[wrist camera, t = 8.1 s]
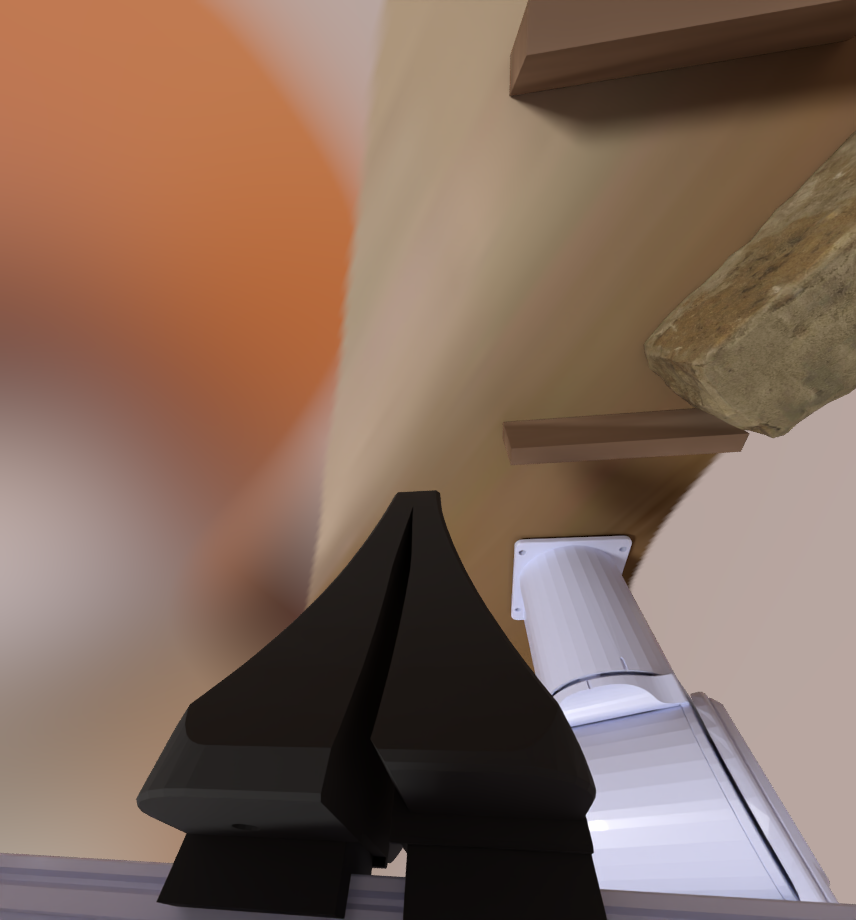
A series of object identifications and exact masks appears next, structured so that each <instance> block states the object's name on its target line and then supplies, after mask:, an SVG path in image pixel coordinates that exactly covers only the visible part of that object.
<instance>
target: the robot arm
mask: <svg viewBox="0 0 856 920" xmlns="http://www.w3.org/2000/svg"><path fill="white" fill-rule="evenodd" d="M631 545H632V541H631V539H630V538H629V537H628V536H600V537H574V538H548V539H522V540H518V541H517V542H516V543H515V550H514V569H513V587H512V606H511V615H512V618H513V619H515V620H524V621H525V626H526V631H527V636H528V640H529V645H530V650H531V655H532V660H533V664H534V669H535V674H536V675H535V674H534V672H533V671H532V670H531V669H530V667H529V666H528V665H527V664H526V662H525V661H524V660H523V658H522V657H521V655H520V654H519V653H518V651H517V650H516V649H515V647H514V646H513V645H512V643H511V642H510V641H509V639H508V638H507V636H506V635H505V633H504V632H503V630H502V629H501V627H500V626H499V624H498V623H497V621H496V620H495V619H494V617H493V616H492V614H491V613H490V611H489V610H488V608H487V607H486V605H485V603H484V602H483V600H482V598H481V597H480V595H479V593H478V592H477V590H476V588H475V586H474V585H473V583H472V581H471V579H470V577H469V576H468V574H467V572H466V570H465V568H464V566H463V564H462V562H461V560H460V558H459V556H458V553H457V551H456V549H455V547H454V544H453V542H452V539H451V537H450V534H449V532H448V529H447V526H446V523H445V520H444V517H443V513H442V507H441V498H440V493H439V492H438V491H436V490H434V491H416V492H398V493H397V494H396V495H395V497H394V498H393V500H392V502H391V503H390V505H389V507H388V508H387V510H386V512H385V513H384V515H383V516H382V518H381V520H380V521H379V523H378V524H377V526H376V527H375V528H374V530H373V531H372V533H371V534H370V536H369V537H368V539H367V540H366V541H365V543H364V544H363V545H362V547H361V548H360V549H359V551H358V552H357V553H356V554H355V556H354V557H353V558H352V560H351V561H350V562H349V563H348V565H347V566H346V567H345V568H344V570H343V571H342V572H341V573H340V574H339V575H338V577H337V578H336V579H335V580H334V581H333V582H332V583H331V584H330V585H329V587H328V588H327V589H326V590H325V591H324V592H323V593H322V594H321V595H320V596H319V597H318V598H317V599H316V600H315V601H314V602H313V603H312V604H311V605H310V606H309V607H308V608H307V609H306V610H305V611H304V612H303V613H302V614H301V615H300V616H299V617H298V618H297V619H296V620H295V621H294V622H293V623H292V624H290V625H289V626H288V627H287V628H286V629H285V630H284V631H282V632H281V633H280V634H279V635H278V636H277V637H275V639H273V640H272V641H271V642H270V643H269V644H267V645H266V646H265V647H264V648H263V649H262V650H260V651H259V652H258V653H257V654H256V655H254V656H253V657H252V658H251V659H250V660H248V661H247V662H246V663H245V664H244V665H242V666H241V667H240V668H238V669H237V670H236V671H234V672H233V673H232V674H230V675H229V676H228V677H226V678H225V679H224V680H222V681H221V682H220V683H218V684H217V685H216V686H214V687H213V688H212V689H210V690H209V691H208V692H206V693H205V694H204V695H202V696H201V697H200V698H198V699H197V700H195V701H194V702H193V703H192V704H190V705H189V707H188V709H187V710H186V712H185V714H184V715H183V717H182V718H181V720H180V722H179V723H178V725H177V726H176V728H175V730H174V732H173V733H172V735H171V737H170V739H169V741H168V742H167V744H166V746H165V748H164V750H163V752H162V753H161V755H160V757H159V759H158V761H157V762H156V764H155V766H154V768H153V769H152V771H151V773H150V775H149V777H148V778H147V780H146V782H145V784H144V786H143V788H142V789H141V791H140V793H139V795H138V797H137V799H136V800H137V805H138V807H139V809H140V810H141V811H142V812H144V813H145V814H147V815H149V816H151V817H153V818H155V819H157V820H159V821H161V822H163V823H165V824H168V825H170V826H172V827H174V828H176V829H178V830H180V831H183V832H185V833H187V834H186V836H185V838H184V841H183V843H182V845H181V847H180V850H179V852H178V854H177V856H176V859H175V861H174V863H160V862H159V863H158V862H143V861H127V860H109V859H93V858H77V857H60V856H44V855H27V854H9V853H0V920H856V904H841V903H838V901H837V900H836V898H835V896H834V895H833V893H832V891H831V889H830V888H829V884H830V881H829V879H828V878H827V876H826V874H825V873H824V871H823V869H822V868H821V867H820V864H819V863H818V861H817V859H816V858H815V856H814V854H813V853H812V851H811V849H810V848H809V846H808V845H807V843H806V841H805V840H804V838H803V836H802V835H801V833H800V831H799V830H798V828H797V826H796V825H795V823H794V822H793V820H792V818H791V816H790V815H789V813H788V812H787V810H786V808H785V807H784V805H783V803H782V802H781V800H780V798H779V797H778V795H777V793H776V792H775V790H774V789H773V787H772V785H771V783H770V782H769V780H768V779H767V777H766V775H765V774H764V772H763V770H762V769H761V767H760V765H759V764H758V762H757V761H756V759H755V757H754V755H753V754H752V752H751V750H750V749H749V747H748V746H747V744H746V742H745V741H744V739H743V737H742V736H741V734H740V732H739V731H738V729H737V727H736V726H735V724H734V723H733V721H732V719H731V717H730V716H729V714H728V713H727V711H726V709H725V708H724V706H723V705H722V704H721V703H719V702H717V701H715V700H714V699H712V698H708V697H707V695H706V694H705V693H703V692H696V693H692V694H691V698H692V699H691V698H690V696H689V695H688V693H687V692H686V691H685V689H684V688H683V686H682V685H681V683H680V682H679V680H678V679H677V677H676V675H675V674H674V672H673V670H672V668H671V666H670V664H669V662H668V661H667V659H666V657H665V655H664V653H663V651H662V649H661V647H660V646H659V644H658V642H657V640H656V638H655V636H654V634H653V633H652V631H651V629H650V627H649V625H648V623H647V621H646V620H645V618H644V616H643V614H642V612H641V610H640V608H639V607H638V605H637V603H636V601H635V599H634V597H633V595H632V593H631V592H630V590H629V588H628V586H627V584H626V582H625V580H624V579H623V577H622V573H623V569H624V566H625V563H626V560H627V557H628V554H629V551H630V548H631ZM521 550H523V551H521ZM692 700H693V701H692ZM402 848H404V850H405V851H406V853H407V863H406V877H392V876H375V875H371V871H372V868H385V869H386V868H387V863H391V862H392V861H393V860H394V859H395V858H396V857H397V855H398V854H399V853H400V851H401V850H402Z"/></svg>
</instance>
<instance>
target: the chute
mask: <svg viewBox="0 0 856 920" xmlns="http://www.w3.org/2000/svg"><path fill="white" fill-rule="evenodd" d="M854 36H856V0H528V3H527V6H526V9H525V12H524V15H523V19H522V22H521V25H520V28H519V31H518V34H517V37H516V40H515V43H514V46H513V49H512V52H511V55H510V96H514V95H520V94H526V93H532V92H538V91H544V90H550V89H556V88H562V87H568V86H574V85H580V84H586V83H592V82H599V81H605V80H611V79H617V78H623V77H629V76H635V75H641V74H647V73H653V72H659V71H665V70H671V69H677V68H683V67H690V66H696V65H702V64H708V63H714V62H720V61H726V60H732V59H738V58H744V57H750V56H756V55H762V54H768V53H774V52H781V51H787V50H793V49H799V48H805V47H811V46H817V45H823V44H829V43H835V42H841V41H846V40H848V39H850V38H852V37H854ZM748 435H749V433H748V432H746V431H745V430H741V429H739V428H737V427H735V426H732V425H730V424H728V423H726V422H724V421H722V420H720V419H719V418H717V417H716V416H713V415H711V414H708V413H706V412H704V411H702V410H700V409H698V408H694V409H680V410H666V411H652V412H638V413H624V414H610V415H596V416H582V417H569V418H555V419H541V420H527V421H513V422H503V440H504V444H505V447H506V450H507V454H508V457H509V460H510V464H511V465H523V464H540V463H557V462H574V461H591V460H607V459H624V458H641V457H658V456H675V455H692V454H709V453H726V452H740V451H741V450H742V448H743V446H744V443H745V442H746V440H747V437H748Z"/></svg>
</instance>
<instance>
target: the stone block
mask: <svg viewBox="0 0 856 920" xmlns="http://www.w3.org/2000/svg"><path fill="white" fill-rule="evenodd" d="M644 350H645V355H646V358H647V361H648V364H649V368H650V369H651V370H652V371H653V372H655V373H656V374H657V375H659V376H660V377H661V378H662V379H664V381H665V383H666V385H667V386H668V387H670V388H671V389H672V390H673V391H674V392H675V393H676V394H677V395H679V396H680V397H682V398H683V399H684V400H686V401H687V402H688V403H689V404H690V405H692V406H693V407H695V408H698V409H700V410H702V411H704V412H706V413H708V414H711V415H713V416H716V417H717V418H719V419H720V420H722V421H724V422H726V423H728V424H730V425H732V426H735V427H737V428H739V429H741V430H750V431H753V432H757V433H760V434H764V435H767V436H769V437H771V438H775V437H779V436H782V435H785V434H786V433H788V432H789V431H790V430H791V429H792V428H793V427H794V426H795V425H796V424H798V423H799V422H800V421H802V420H803V419H805V418H806V417H808V416H809V415H810V414H812V413H813V412H814V411H816V410H818V409H820V408H821V407H823V406H824V405H826V404H827V403H829V402H831V401H834V400H836V399H838V398H840V397H842V396H844V395H846V394H849V393H850V392H851V391H853V390H854V389H855V388H856V131H855V132H854V133H853V134H852V135H851V136H850V137H849V138H848V139H847V140H846V141H845V142H844V143H843V144H842V145H841V146H840V147H839V149H838V150H837V151H836V152H835V153H834V154H833V155H832V156H831V157H830V158H829V159H828V160H827V161H826V162H825V163H824V164H823V165H822V166H821V167H820V168H819V169H818V170H817V171H816V172H815V173H814V174H813V175H812V176H811V177H810V178H809V179H808V180H807V181H806V182H805V183H804V184H803V186H802V187H801V188H800V189H799V190H798V191H797V192H796V193H795V194H794V195H793V196H792V197H790V198H789V199H788V200H787V201H786V202H785V203H784V204H782V205H781V206H780V207H779V208H778V209H777V210H776V211H775V212H774V213H773V215H772V216H771V217H770V218H769V220H768V221H767V222H766V223H765V224H764V225H763V226H762V228H761V229H760V230H759V231H758V232H757V234H756V235H755V236H754V237H753V239H752V240H751V241H750V242H749V243H748V244H746V245H745V246H743V247H742V248H741V249H739V250H738V251H736V252H735V253H733V254H732V255H731V256H729V257H728V259H727V260H726V261H725V263H724V264H723V265H722V266H721V267H720V268H719V270H718V271H716V272H715V273H714V274H713V275H712V276H711V277H710V278H709V279H708V280H707V281H706V282H705V283H704V284H702V285H701V286H700V287H699V288H698V289H696V290H695V291H694V292H693V293H691V294H690V295H689V296H688V297H687V298H686V299H685V300H684V301H683V302H682V303H680V304H679V305H678V306H677V307H676V308H675V309H674V310H673V311H672V312H671V313H670V315H669V316H668V317H667V318H666V319H665V320H664V321H663V322H662V323H661V324H660V326H659V327H658V328H657V329H656V330H655V331H654V333H653V334H652V335H651V336H650V337H649V339H648V340H647V341H646V342H645V343H644Z"/></svg>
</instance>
